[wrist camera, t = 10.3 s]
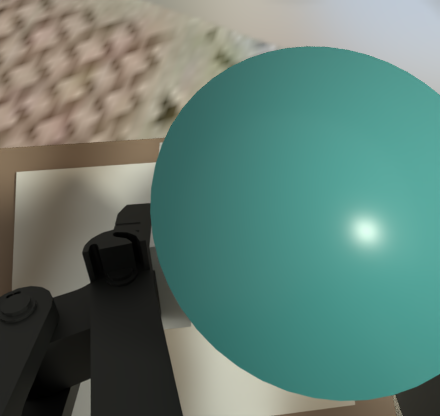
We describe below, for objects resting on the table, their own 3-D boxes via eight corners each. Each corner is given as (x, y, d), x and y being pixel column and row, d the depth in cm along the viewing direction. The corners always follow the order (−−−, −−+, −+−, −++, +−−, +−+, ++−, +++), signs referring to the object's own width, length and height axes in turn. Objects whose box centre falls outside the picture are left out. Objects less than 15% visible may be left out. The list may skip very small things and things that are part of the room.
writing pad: (335, 131, 21) (341, 125, 20) (392, 428, 17) (402, 434, 16) (-13, 154, 19) (-22, 148, 19) (-34, 487, 16) (-46, 497, 15)
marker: (267, 230, 18) (457, 42, 5) (277, 317, 17) (557, 378, 4) (183, 236, 18) (144, 51, 5) (189, 325, 17) (157, 424, 4)
